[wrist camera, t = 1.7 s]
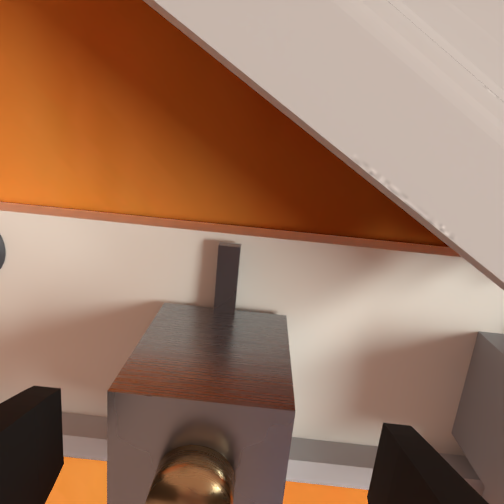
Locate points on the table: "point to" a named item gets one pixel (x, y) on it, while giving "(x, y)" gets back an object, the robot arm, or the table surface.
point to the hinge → (383, 96)
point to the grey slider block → (203, 405)
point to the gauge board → (272, 302)
